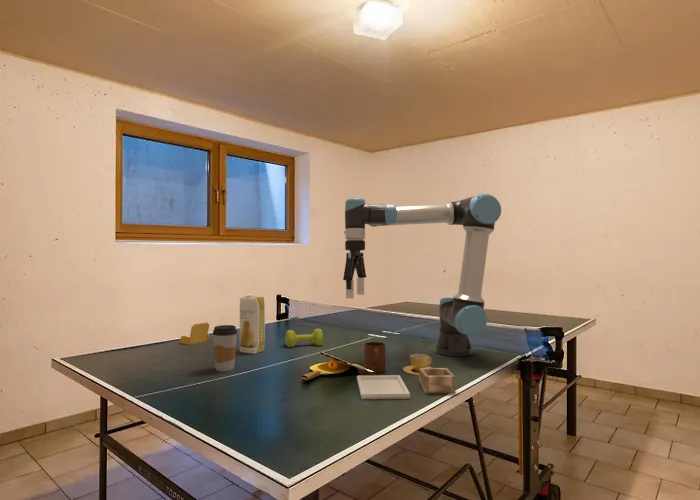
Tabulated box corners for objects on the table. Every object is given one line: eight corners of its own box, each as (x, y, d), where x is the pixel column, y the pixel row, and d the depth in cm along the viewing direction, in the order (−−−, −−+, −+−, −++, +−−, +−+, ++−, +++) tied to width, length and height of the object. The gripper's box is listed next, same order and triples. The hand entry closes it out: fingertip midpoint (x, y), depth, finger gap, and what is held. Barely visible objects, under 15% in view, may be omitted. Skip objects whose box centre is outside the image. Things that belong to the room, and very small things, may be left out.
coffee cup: (241, 367, 154) (241, 325, 154) (227, 373, 146) (228, 329, 146) (221, 365, 157) (222, 324, 157) (207, 371, 149) (207, 328, 149)
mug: (388, 377, 143) (388, 349, 143) (365, 377, 143) (365, 349, 143) (384, 367, 155) (384, 341, 155) (363, 367, 155) (363, 341, 155)
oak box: (446, 383, 137) (446, 368, 137) (455, 393, 128) (455, 376, 128) (418, 383, 136) (419, 368, 136) (425, 393, 127) (425, 376, 127)
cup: (416, 377, 144) (416, 361, 144) (396, 368, 154) (396, 353, 154) (444, 373, 149) (444, 357, 149) (422, 365, 160) (423, 350, 160)
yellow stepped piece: (198, 339, 202) (198, 319, 202) (211, 342, 197) (211, 321, 197) (178, 343, 194) (178, 322, 194) (191, 345, 188) (191, 325, 188)
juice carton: (236, 352, 176) (237, 294, 176) (248, 348, 183) (248, 292, 183) (256, 355, 172) (256, 295, 172) (266, 350, 179) (267, 293, 180)
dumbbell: (320, 343, 196) (320, 327, 196) (324, 346, 188) (324, 330, 188) (284, 345, 191) (284, 329, 191) (286, 349, 184) (287, 332, 184)
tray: (399, 379, 140) (399, 375, 140) (410, 398, 122) (410, 393, 122) (357, 380, 140) (357, 375, 140) (361, 399, 122) (361, 394, 122)
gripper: (355, 240, 174) (355, 292, 174) (334, 239, 150) (334, 299, 150) (373, 240, 171) (373, 293, 171) (354, 239, 148) (354, 300, 148)
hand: (355, 296), depth 161 cm, fingers open, 13 cm apart
